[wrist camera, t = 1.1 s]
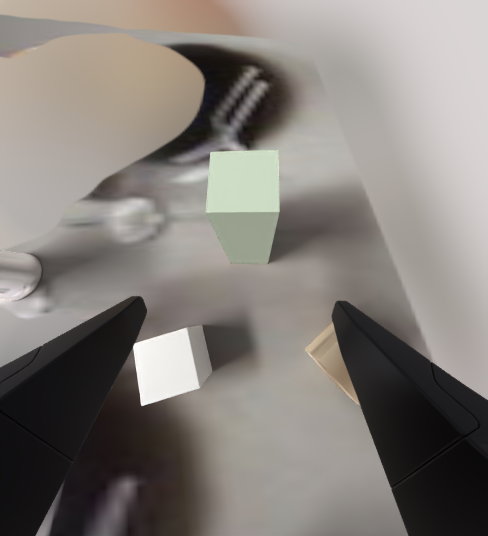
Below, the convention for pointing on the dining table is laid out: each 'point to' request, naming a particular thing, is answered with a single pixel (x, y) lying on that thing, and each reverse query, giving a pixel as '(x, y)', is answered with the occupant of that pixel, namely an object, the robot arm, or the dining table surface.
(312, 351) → the oak cube
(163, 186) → the dining table surface
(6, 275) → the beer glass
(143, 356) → the white cube
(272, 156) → the sage block
